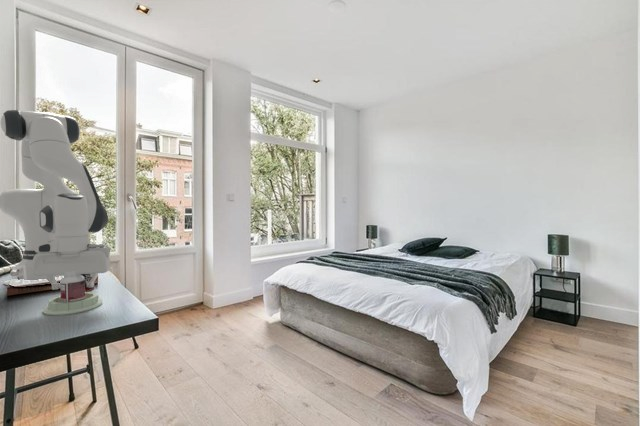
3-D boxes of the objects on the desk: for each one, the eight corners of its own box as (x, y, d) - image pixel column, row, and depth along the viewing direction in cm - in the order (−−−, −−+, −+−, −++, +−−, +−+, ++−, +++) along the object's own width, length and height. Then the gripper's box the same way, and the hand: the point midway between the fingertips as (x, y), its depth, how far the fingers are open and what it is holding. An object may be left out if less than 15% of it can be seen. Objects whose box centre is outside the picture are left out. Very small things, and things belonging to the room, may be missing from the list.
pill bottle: (89, 300, 105) (88, 267, 105) (79, 306, 99) (78, 271, 98) (67, 302, 104) (66, 268, 103) (56, 308, 97) (55, 272, 97)
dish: (30, 312, 96) (30, 302, 96) (81, 298, 111) (81, 289, 111) (65, 317, 92) (64, 307, 92) (113, 302, 106) (113, 293, 106)
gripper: (113, 242, 106) (114, 283, 107) (41, 244, 101) (42, 287, 102) (105, 245, 100) (106, 288, 100) (28, 247, 95) (29, 292, 96)
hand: (73, 288), depth 101 cm, fingers open, 8 cm apart
